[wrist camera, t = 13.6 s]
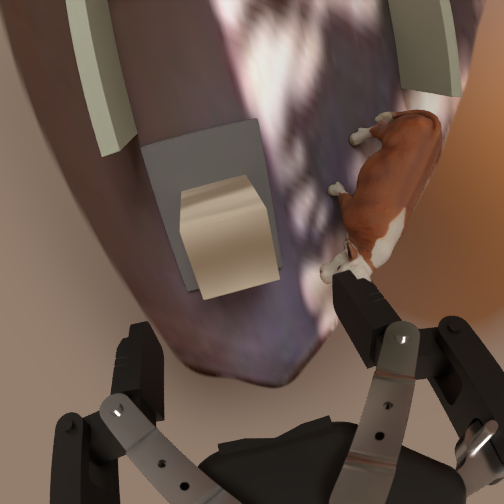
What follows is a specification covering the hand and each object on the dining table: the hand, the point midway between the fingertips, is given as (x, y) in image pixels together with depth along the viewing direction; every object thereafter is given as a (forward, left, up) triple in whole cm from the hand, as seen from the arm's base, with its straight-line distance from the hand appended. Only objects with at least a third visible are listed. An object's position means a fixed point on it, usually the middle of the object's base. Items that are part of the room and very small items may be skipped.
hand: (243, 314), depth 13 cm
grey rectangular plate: (0, 0, -12) cm, 12 cm away
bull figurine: (0, +11, -12) cm, 16 cm away
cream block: (0, 0, -11) cm, 11 cm away
